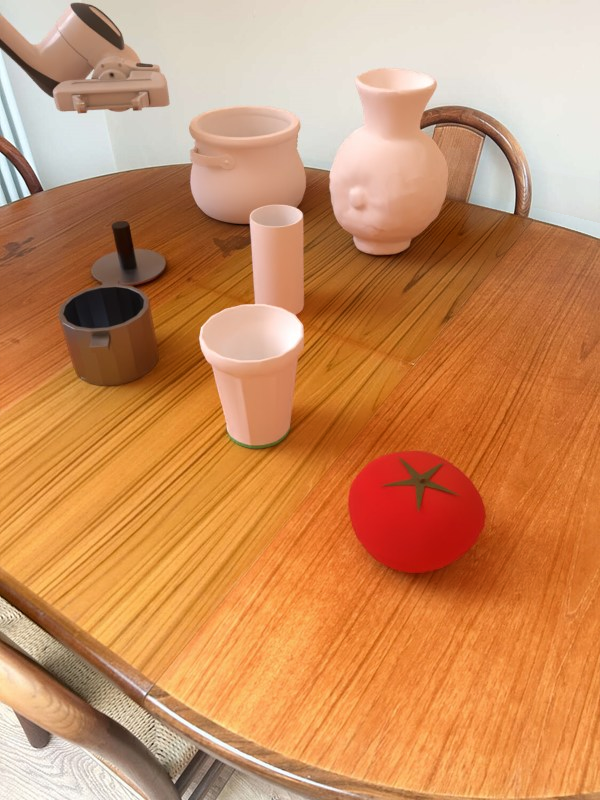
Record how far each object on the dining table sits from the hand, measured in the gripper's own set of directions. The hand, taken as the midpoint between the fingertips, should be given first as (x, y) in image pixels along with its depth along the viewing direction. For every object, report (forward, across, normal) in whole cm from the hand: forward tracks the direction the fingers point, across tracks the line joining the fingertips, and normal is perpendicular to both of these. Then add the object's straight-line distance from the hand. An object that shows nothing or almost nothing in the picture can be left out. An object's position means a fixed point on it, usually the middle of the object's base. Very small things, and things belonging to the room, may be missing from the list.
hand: (108, 107), depth 113 cm
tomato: (+79, +35, +25) cm, 90 cm away
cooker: (+40, 0, +25) cm, 47 cm away
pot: (-14, +24, +26) cm, 38 cm away
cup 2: (+58, +20, +25) cm, 66 cm away
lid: (+12, 0, +24) cm, 27 cm away
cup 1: (+28, +26, +25) cm, 46 cm away
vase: (+9, +48, +25) cm, 55 cm away
